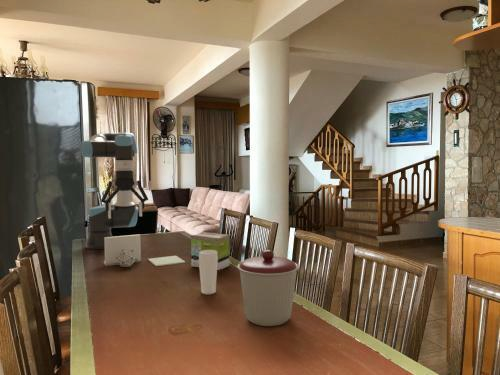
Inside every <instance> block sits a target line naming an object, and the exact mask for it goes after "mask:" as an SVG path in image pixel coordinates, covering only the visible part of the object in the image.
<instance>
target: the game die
mask: <svg viewBox="0 0 500 375" xmlns="http://www.w3.org/2000/svg"><path fill="white" fill-rule="evenodd" d="M132 251H133V250H132ZM132 251H123V250H122V252H121V254H120V255H119V256H118V257H116V259H118V261H119V268H120V269H121V268H122V267H123V268H125V267H126V268H130V269H132V267H131V266H132V265H133V264H134V261H135V260H137V259H135V256H134V254H133V252H132Z"/></svg>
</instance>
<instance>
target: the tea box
mask: <svg viewBox="0 0 500 375" xmlns="http://www.w3.org/2000/svg"><path fill="white" fill-rule="evenodd" d="M190 250H191V251H190V253H191V254H190V258H191V259H190V261H191V262H190V263H191V265H190V266H191V267H194V268H199V252H200V251H203V250H215V251H217V256H218V264H217V270H219V271H221V270H224V269H225V268H228V267H229V266H230V234H224V233H223V234H222V233H217V232H216V233H215V232H208V231H207V232H205V231H203V232H198V233H195V234H191V235H190ZM220 269H221V270H220Z"/></svg>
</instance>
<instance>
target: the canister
mask: <svg viewBox="0 0 500 375" xmlns="http://www.w3.org/2000/svg"><path fill="white" fill-rule="evenodd" d="M237 270H239V275H240V283H241V291H242V292H241V294H242V299H243V308H244V312H245V316H246V319H247V320H249V322H251V323H252V324H254V325H257V326H262V327H277V326H280V325H284V324H285V323H286V322H288V321H289V319H290V317H291V315H292V310H293V304H294V297H295V295H294V294H295V286H296V278H297V277H296V276H297V271H298V270H299V265H298V264H297V263H296V262H294V261H293V260H292V259H289V258H287V257H283V256H275V252H273V250H270V249H266V250H265V249H264V250H263V251H262V252H261V256H252V257H248V258H246V259H244V260H243V261H242V262H239V263H238V264H237Z"/></svg>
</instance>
